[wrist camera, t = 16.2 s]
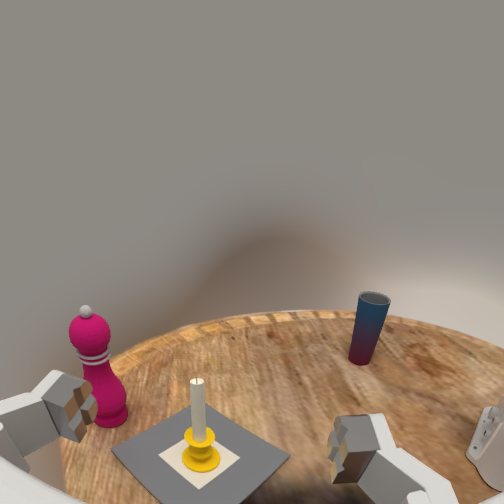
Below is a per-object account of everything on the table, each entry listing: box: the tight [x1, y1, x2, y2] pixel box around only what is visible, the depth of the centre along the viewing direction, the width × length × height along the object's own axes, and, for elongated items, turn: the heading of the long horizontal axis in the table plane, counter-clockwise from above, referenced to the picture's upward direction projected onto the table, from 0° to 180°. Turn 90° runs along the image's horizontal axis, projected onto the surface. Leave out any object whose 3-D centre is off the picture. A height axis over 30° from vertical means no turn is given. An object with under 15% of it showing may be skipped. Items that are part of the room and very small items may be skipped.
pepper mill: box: [69, 305, 128, 428], centre depth 37 cm, size 7×7×20 cm
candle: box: [182, 377, 220, 473], centre depth 32 cm, size 5×5×16 cm
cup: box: [349, 291, 391, 365], centre depth 60 cm, size 7×7×15 cm
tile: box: [110, 403, 290, 504], centre depth 34 cm, size 18×18×1 cm
